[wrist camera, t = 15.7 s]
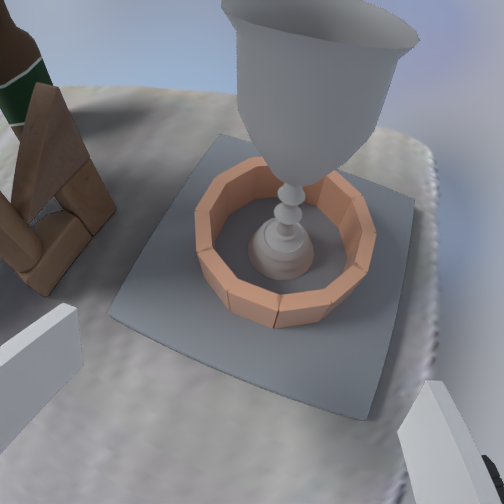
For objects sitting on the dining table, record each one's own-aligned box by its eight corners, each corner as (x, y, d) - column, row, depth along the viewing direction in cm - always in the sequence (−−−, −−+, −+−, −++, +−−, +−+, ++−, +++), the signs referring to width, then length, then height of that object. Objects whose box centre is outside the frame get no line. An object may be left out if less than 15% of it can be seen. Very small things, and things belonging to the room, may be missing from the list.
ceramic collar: (175, 288, 23) (162, 264, 20) (240, 171, 28) (239, 139, 25) (332, 350, 21) (349, 337, 18) (370, 216, 26) (385, 187, 23)
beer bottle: (37, 158, 32) (-41, -2, 11) (14, 143, 34) (-53, 8, 13) (79, 118, 35) (25, -40, 14) (52, 108, 37) (2, -27, 16)
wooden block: (119, 209, 28) (41, 38, 12) (47, 300, 24) (-96, 169, 8) (95, 195, 29) (19, 39, 13) (27, 279, 25) (-99, 153, 9)
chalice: (217, 266, 24) (180, 17, 8) (256, 200, 27) (266, -21, 11) (309, 308, 22) (417, 75, 7) (339, 234, 25) (421, 20, 10)
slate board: (113, 319, 23) (106, 313, 22) (220, 144, 32) (219, 133, 31) (358, 420, 20) (365, 420, 19) (408, 208, 29) (414, 199, 27)
